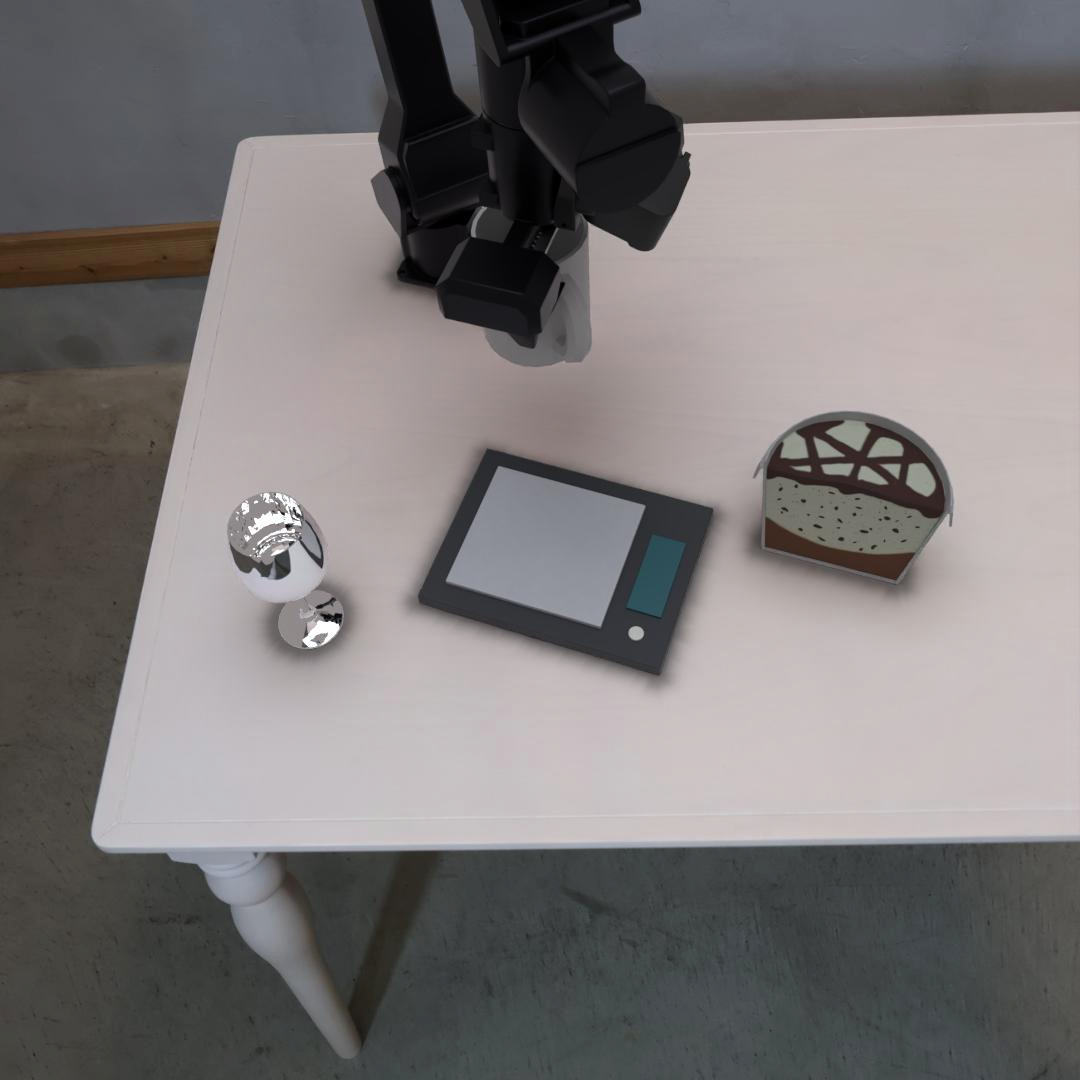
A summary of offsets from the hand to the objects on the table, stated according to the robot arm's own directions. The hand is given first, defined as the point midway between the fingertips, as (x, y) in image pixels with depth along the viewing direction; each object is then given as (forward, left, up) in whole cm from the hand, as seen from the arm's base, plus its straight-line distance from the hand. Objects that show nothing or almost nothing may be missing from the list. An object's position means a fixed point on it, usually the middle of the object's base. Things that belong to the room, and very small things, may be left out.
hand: (547, 303), depth 74 cm
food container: (+22, -3, -13) cm, 26 cm away
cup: (0, -1, -3) cm, 3 cm away
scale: (+5, -11, -13) cm, 17 cm away
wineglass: (-10, -21, -13) cm, 27 cm away
